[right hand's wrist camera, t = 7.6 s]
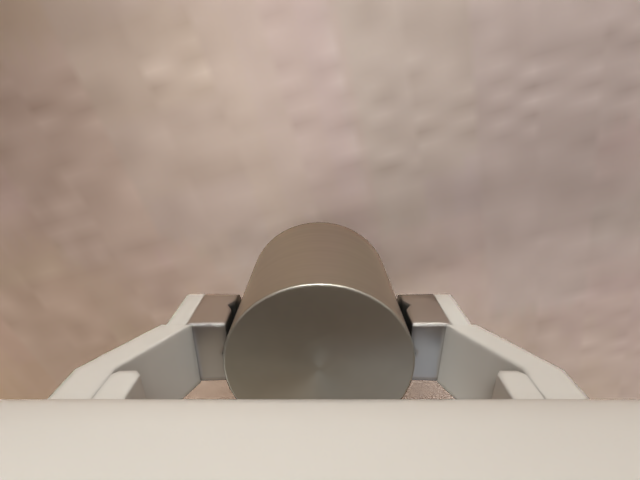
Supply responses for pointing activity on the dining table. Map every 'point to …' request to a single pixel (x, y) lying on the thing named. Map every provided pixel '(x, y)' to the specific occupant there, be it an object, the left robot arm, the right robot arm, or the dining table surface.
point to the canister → (319, 322)
